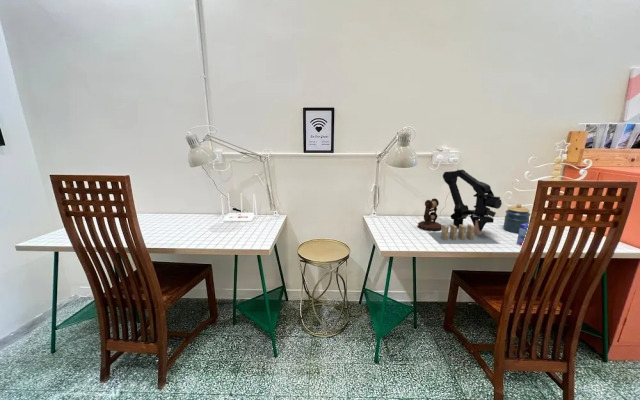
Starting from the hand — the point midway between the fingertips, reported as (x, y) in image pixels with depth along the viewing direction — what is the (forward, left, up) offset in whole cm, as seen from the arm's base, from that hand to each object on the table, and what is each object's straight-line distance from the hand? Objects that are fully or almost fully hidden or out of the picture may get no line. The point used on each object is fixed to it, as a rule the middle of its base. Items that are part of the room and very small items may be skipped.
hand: (477, 229), depth 165 cm
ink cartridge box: (+17, +18, -4) cm, 25 cm away
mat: (+6, -13, -3) cm, 15 cm away
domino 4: (+8, -9, -3) cm, 12 cm away
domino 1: (+8, -24, -3) cm, 25 cm away
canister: (-7, +28, -4) cm, 29 cm away
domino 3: (+8, -14, -3) cm, 16 cm away
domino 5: (0, 0, -3) cm, 3 cm away
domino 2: (+8, -19, -3) cm, 21 cm away
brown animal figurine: (-12, -25, -4) cm, 28 cm away
